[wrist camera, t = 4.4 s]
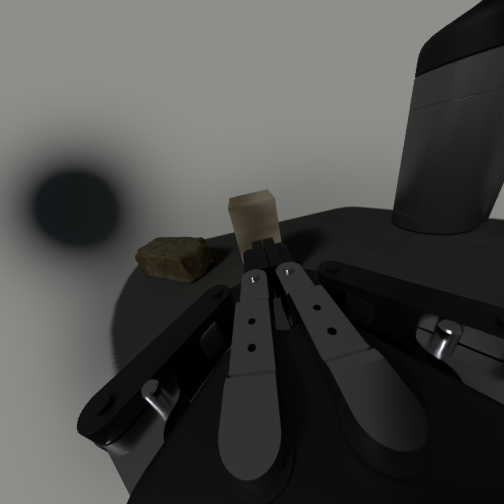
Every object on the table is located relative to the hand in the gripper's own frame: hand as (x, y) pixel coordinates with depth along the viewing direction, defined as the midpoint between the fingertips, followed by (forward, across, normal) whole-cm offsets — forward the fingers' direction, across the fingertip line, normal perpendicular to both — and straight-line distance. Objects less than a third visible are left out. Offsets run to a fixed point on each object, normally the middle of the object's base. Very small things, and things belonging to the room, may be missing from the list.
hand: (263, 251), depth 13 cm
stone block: (+14, +14, +8) cm, 21 cm away
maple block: (+8, 0, +8) cm, 11 cm away
